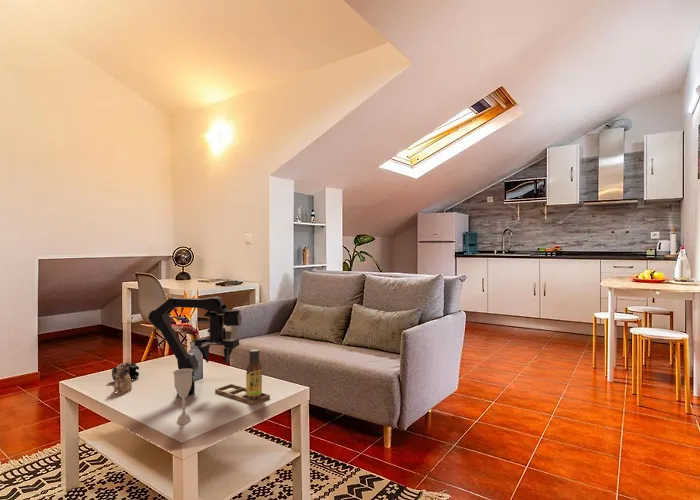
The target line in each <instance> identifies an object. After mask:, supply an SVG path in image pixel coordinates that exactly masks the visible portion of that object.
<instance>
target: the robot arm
mask: <svg viewBox="0 0 700 500" xmlns="http://www.w3.org/2000/svg"><path fill="white" fill-rule="evenodd" d="M175 308H187V309H189V308H191V309H192V308H193V309H195V308H196V309H202V310H205V311H206V313H205V314H203V316H204V317H208V325H209V326H208V327H209V328H208V329H207V333H209V337H204V336H202V337H200V338H195V340H194V347H196V349H198V350H199V351H200V353H201V355H202V356H203V358H204V360H205V361H206V363H209V361H210V347H211V345H212V346H214V345H216V346H224V348H223V356H224V362H225V364H226V365H227V364H228V362H229V360H230V357H231V354H232V352H233V350H234V349H235V348H237V347H238V346H240V340H239V339H238V338H231V336H232V332H230V331H227V330H226V327H240V326H241V325H242V319H243V317H242V314H241V310H240V309H234V310H230V309H229V307H228V306H227V305H226V303H225V300H224V298H223V297H222V296H211V297H204V298H195V297H191V298H190V297H176V296H174V297H170V298H168V299H167V300H166V301H164V302H163V303H162V304H160V306H158V307H157V308H156V309H154V310H151V311H150V312H149V313H148V318H147V319H148V321H149V322H150V323H151V324H152V326H153V327H154V328H156V329H158V330H159V331H160V333H161V335H162V336H163V338H164V340H165V341H166V343H167V345H168V346H169V348H170V350H171V352H172V354H173V355H174V357H175V359H176V360H177V368H178V370H179V369H185V368H189V369H193V371H192V385H191V388H190V391H189V393H188V395H187V396H190V395H194V394H195V391H196V390H195V385H196V383H195V380H194V376H195V374H196V373H197V372H198V370H199V368H200V366H199V365H200V364H199V363H200V361H198V359H197V357H196V355H195V354H192V355H191V354H189V353H188V351H187V350H186V348H185V347H184V345H183V343H182V341H181V340H180V338H179V337H178V334H177V333H176V331H175V329H174V327H173V326H172V322H171V317H170V314H171V313H172V312H173V310H174V309H175ZM224 325H225V326H226V327H224ZM176 396H177V397H180V396H179V395H178V393H177V392H176Z"/></svg>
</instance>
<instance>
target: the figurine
mask: <svg viewBox="0 0 700 500" xmlns="http://www.w3.org/2000/svg"><path fill="white" fill-rule="evenodd" d="M129 364H130V363H129V362H125V364H124V363H120V364H119V365H117V366H116V367H117V369H116V373H115V375H114V376H115V377H116V379H115V381H114V386H113V393H114V392H117V393H116V394H124V393H123V392H125V393H129V392H130V391H132V388H133V383H132V380H131V378H130V376H129V372H130V370H129V368H128V367H127V365H129ZM126 369H127V370H128V371H127V372H125V370H126Z"/></svg>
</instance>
